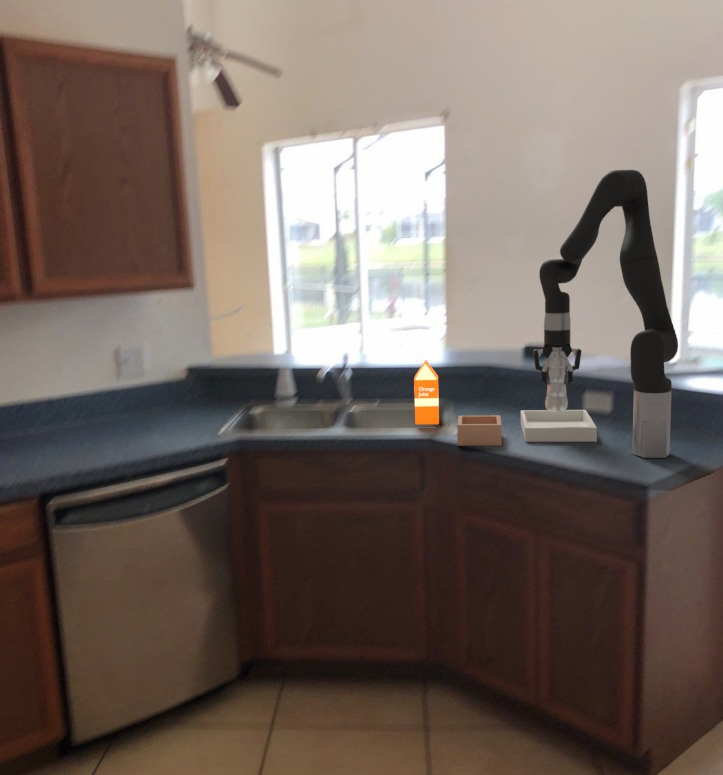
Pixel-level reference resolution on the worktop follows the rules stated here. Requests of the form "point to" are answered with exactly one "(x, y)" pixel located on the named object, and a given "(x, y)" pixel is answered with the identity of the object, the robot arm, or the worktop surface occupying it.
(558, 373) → the plastic bottle
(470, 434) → the terracotta holder
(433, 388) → the orange juice
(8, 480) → the worktop surface
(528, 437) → the plastic tray
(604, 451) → the worktop surface
